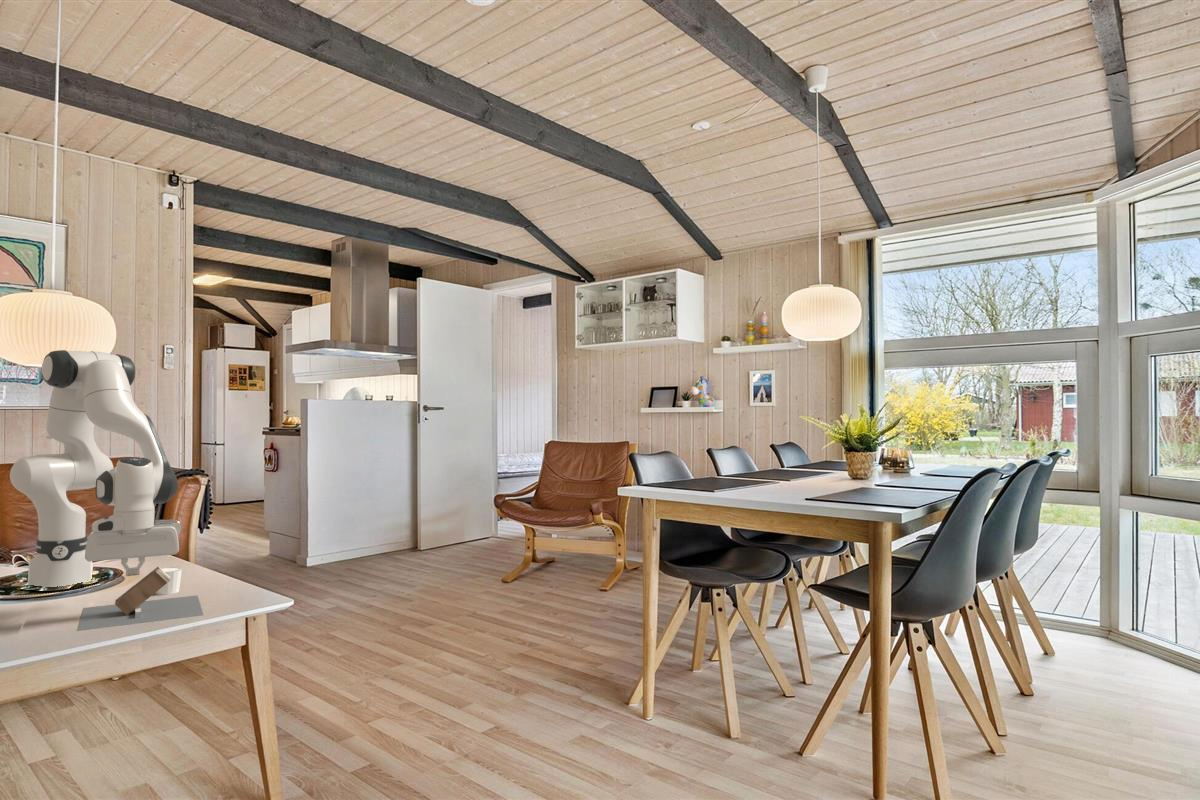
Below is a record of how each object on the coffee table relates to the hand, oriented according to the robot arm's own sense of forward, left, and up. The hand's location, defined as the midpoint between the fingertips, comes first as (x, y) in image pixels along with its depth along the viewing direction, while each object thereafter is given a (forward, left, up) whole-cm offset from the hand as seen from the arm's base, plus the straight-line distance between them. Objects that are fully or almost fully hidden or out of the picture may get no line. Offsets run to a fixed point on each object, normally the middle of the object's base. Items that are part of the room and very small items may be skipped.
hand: (132, 575), depth 182 cm
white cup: (-19, +8, -10) cm, 23 cm away
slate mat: (0, +2, -10) cm, 10 cm away
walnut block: (0, -2, -8) cm, 8 cm away
